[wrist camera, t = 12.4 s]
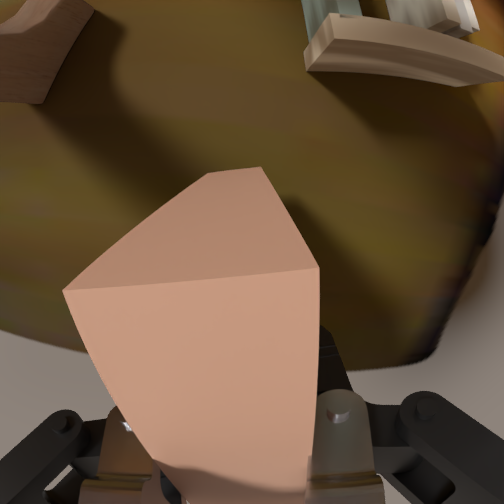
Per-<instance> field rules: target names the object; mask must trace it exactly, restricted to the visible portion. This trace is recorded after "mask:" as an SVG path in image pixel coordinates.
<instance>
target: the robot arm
mask: <svg viewBox="0 0 504 504" xmlns="http://www.w3.org/2000/svg"><path fill="white" fill-rule="evenodd" d="M68 465H70V466H71V467H72V468H73V469H72V470H71V471H70V472H69V473H68V474H67V475H66V476H65V477H64V478H63V479H62V480H61V481H60V482H59V483H58V484H57V485H56V486H55V487H54V488H53V489H51V490H48V491H46V490H44V489H45V487H46V486H47V485H49V483H50V482H52V481H53V480H54V479H55V478H56V477H57V476H58V475H59V474H60V473H61V472H62V471H63V470H64V469H65V468H66V467H67V466H68ZM376 473H378V474H381V475H382V476H383V477H384V478H385V479H386V480H387V481H388V482H389V483H390V484H391V485H392V486H393V487H394V488H395V489H396V490H397V491H398V492H400V493H401V494H402V495H403V496H404V497H405V498H406V499H407V500H408V501H409V502H410V503H411V504H504V440H503V439H502V438H500V437H499V436H497V435H496V434H494V433H493V432H491V431H490V430H489V429H487V428H486V427H484V426H483V425H482V424H480V423H479V422H477V421H476V420H474V419H473V418H472V417H470V416H469V415H467V414H466V413H464V412H463V411H462V410H460V409H459V408H457V407H456V406H454V405H453V404H452V403H450V402H449V401H447V400H446V399H445V398H443V397H442V396H440V395H439V394H436V393H433V392H429V391H420V392H415V393H413V394H410V395H409V396H407V397H406V398H405V399H404V400H403V402H402V404H401V405H376V404H371V403H368V402H366V401H364V400H363V398H362V397H361V396H359V395H358V394H356V393H355V392H354V391H353V389H352V387H351V384H350V382H349V379H348V376H347V374H346V371H345V368H344V366H343V363H342V360H341V358H340V355H339V353H338V350H337V348H336V346H335V343H334V340H333V337H332V335H331V333H330V332H329V331H327V330H326V329H325V328H324V327H323V326H321V325H320V326H319V356H318V379H317V397H316V412H315V425H314V437H313V447H312V455H310V456H308V462H307V476H306V488H305V492H304V502H303V504H385V495H384V486H383V482H382V479H381V477H380V476H379V475H376ZM0 504H187V503H186V498H185V497H184V496H183V495H182V494H181V493H180V492H179V491H178V490H177V489H176V487H175V486H174V485H173V484H172V483H171V481H170V480H169V479H168V478H167V477H166V475H165V474H164V473H163V472H162V470H161V469H160V467H159V466H158V465H157V463H156V462H155V461H154V460H153V459H152V457H151V456H150V455H149V453H148V452H147V451H146V449H145V448H144V446H143V445H142V444H141V442H140V441H139V439H138V438H137V436H136V435H135V433H134V432H133V430H132V429H131V427H130V426H129V424H128V423H127V421H126V420H125V418H124V416H123V415H122V413H121V412H120V410H119V408H118V407H117V406H115V407H114V408H113V409H112V410H111V411H110V413H109V414H108V417H107V418H106V419H100V420H93V421H85V422H83V420H82V419H81V418H80V416H79V415H78V414H77V413H76V412H74V411H72V410H60V411H57V412H55V413H53V414H51V415H50V416H49V417H48V418H47V419H46V420H44V421H43V423H41V424H40V425H39V426H38V427H37V428H36V429H34V430H33V431H32V432H31V433H30V434H29V435H28V436H27V437H26V438H24V439H23V440H22V441H21V442H20V443H19V444H18V445H17V446H15V447H14V448H13V449H12V450H11V451H10V452H9V453H8V454H7V455H5V456H4V457H3V458H2V459H1V460H0Z"/></svg>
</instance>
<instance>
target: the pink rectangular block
mask: <svg viewBox="0 0 504 504" xmlns="http://www.w3.org/2000/svg"><path fill="white" fill-rule="evenodd" d="M62 291H63V294H64V296H65V299H66V302H67V304H68V307H69V309H70V312H71V314H72V317H73V319H74V322H75V324H76V326H77V329H78V331H79V333H80V336H81V338H82V340H83V342H84V344H85V347H86V349H87V351H88V353H89V355H90V357H91V359H92V361H93V363H94V365H95V367H96V369H97V371H98V373H99V375H100V377H101V378H102V380H103V382H104V384H105V386H106V388H107V389H108V391H109V393H110V395H111V396H112V398H113V400H114V402H115V403H116V405H117V407H118V408H119V410H120V412H121V413H122V415H123V416H124V418H125V420H126V421H127V423H128V424H129V426H130V427H131V429H132V430H133V432H134V433H135V435H136V436H137V438H138V439H139V441H140V442H141V444H142V445H143V446H144V448H145V449H146V451H147V452H148V453H149V455H150V456H151V457H152V459H153V460H154V461H155V462H156V463H157V465H158V466H159V467H160V469H161V470H162V472H163V473H164V474H165V475H166V477H167V478H168V479H169V480H170V481H171V483H172V484H173V485H174V486H175V487H176V489H177V490H178V491H179V492H180V493H181V494H182V495H183V496H184V497H185V498H186V500H187V501H188V502H189V503H190V504H303V502H304V492H305V488H306V476H307V462H308V456H310V455H312V447H313V437H314V425H315V412H316V397H317V379H318V356H319V309H320V282H319V266H318V264H317V263H316V261H315V259H314V257H313V255H312V254H311V252H310V250H309V248H308V246H307V245H306V243H305V241H304V239H303V237H302V236H301V234H300V232H299V230H298V229H297V227H296V225H295V224H294V222H293V220H292V218H291V217H290V215H289V213H288V211H287V210H286V208H285V206H284V205H283V203H282V201H281V200H280V198H279V196H278V195H277V193H276V191H275V190H274V188H273V186H272V185H271V183H270V181H269V180H268V178H267V176H266V175H265V173H264V171H263V170H262V168H261V167H255V168H245V169H236V170H228V171H220V172H212V173H207V174H206V175H204V176H203V177H201V178H200V179H199V180H197V181H196V182H194V183H193V184H192V185H190V186H189V187H187V188H186V189H185V190H183V191H182V192H181V193H179V194H178V195H176V196H175V197H174V198H172V199H171V200H170V201H168V202H167V203H166V204H164V205H163V206H162V207H160V208H159V209H158V210H156V211H155V212H154V213H153V214H151V215H150V216H149V217H147V218H146V219H145V220H144V221H142V222H141V223H140V224H139V225H137V226H136V227H135V228H134V229H132V230H131V231H130V232H129V233H127V234H126V235H125V236H124V237H122V238H121V239H120V240H119V241H118V242H116V243H115V244H114V245H113V246H112V247H110V248H109V249H108V250H107V251H106V252H105V253H103V254H102V255H101V256H100V257H99V258H98V259H96V260H95V261H94V262H93V263H92V264H91V265H90V266H89V267H87V268H86V269H85V270H84V271H83V272H82V273H81V274H80V275H78V276H77V277H76V278H75V279H74V280H73V281H72V282H71V283H70V284H69V285H68V286H67V287H65V288H64V289H63V290H62Z"/></svg>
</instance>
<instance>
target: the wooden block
mask: <svg viewBox="0 0 504 504" xmlns="http://www.w3.org/2000/svg"><path fill="white" fill-rule="evenodd" d="M93 13H94V8H93V7H92V6H90V5H89V4H87V3H86V2H85V1H83V0H27V1H26V3H25V4H24V5H23V6H22V8H21V9H20V10H19V12H18V13H17V14H16V15H15V16H14V17H12V18H10V19H9V20H7V21H6V22H4V23H3V24H1V25H0V102H15V103H31V104H41V103H43V102H44V100H45V98H46V95H47V93H48V91H49V89H50V87H51V85H52V83H53V81H54V79H55V77H56V75H57V73H58V71H59V69H60V67H61V65H62V63H63V61H64V59H65V58H66V56H67V54H68V52H69V50H70V49H71V47H72V45H73V44H74V42H75V40H76V39H77V37H78V35H79V34H80V32H81V31H82V29H83V28H84V26H85V25H86V23H87V22H88V20H89V19H90V17H91V16H92V14H93Z"/></svg>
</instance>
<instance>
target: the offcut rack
mask: <svg viewBox="0 0 504 504" xmlns="http://www.w3.org/2000/svg"><path fill="white" fill-rule="evenodd" d="M301 1H302V6H303V12H304V17H305V22H306V28H307V34H308V40H309V44H308V46H307V47H306V49H305V51H304V52H303V53H304V59H305V66H306V71H334V72H356V73H369V74H380V75H389V76H398V77H405V78H412V79H418V80H424V81H429V82H435V83H440V84H445V85H449V86H454V87H460V86H466V85H474V84H481V83H490V82H499V81H504V57H502V56H500V55H498V54H496V53H494V52H491V51H489V50H487V49H484V48H482V47H479V46H477V45H474V44H472V43H469V42H466V41H463V40H461V39H458V38H460V37H463V36H466V35H469V34H472V33H473V32H476V31H479V30H480V29H479V26H478V22H477V19H476V16H475V13H474V10H473V7H472V4H471V1H470V0H385V1H386V5H387V8H388V12H389V16H390V20H391V21H389V20H384V19H378V18H372V17H365V16H362V12H361V8H360V4H359V1H358V0H301Z"/></svg>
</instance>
